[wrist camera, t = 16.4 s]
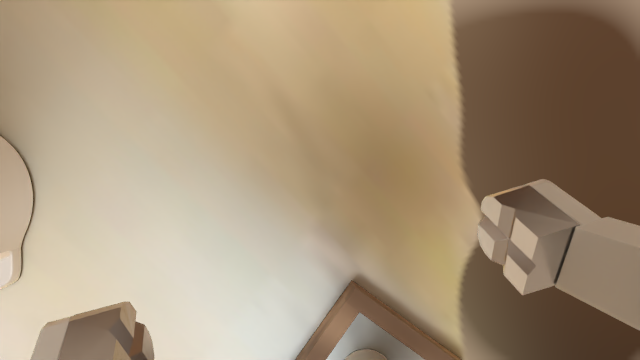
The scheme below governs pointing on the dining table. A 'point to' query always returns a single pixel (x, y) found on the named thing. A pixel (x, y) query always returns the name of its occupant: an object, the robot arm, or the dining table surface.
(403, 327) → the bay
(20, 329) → the dining table surface
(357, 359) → the canister
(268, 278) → the dining table surface
